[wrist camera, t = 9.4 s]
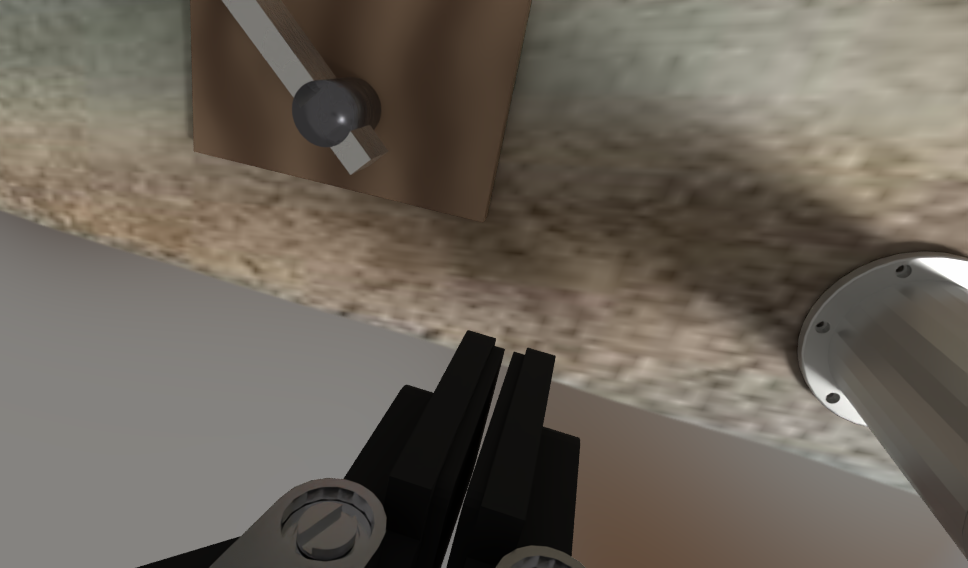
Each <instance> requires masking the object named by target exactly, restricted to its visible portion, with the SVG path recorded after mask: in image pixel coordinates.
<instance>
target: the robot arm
mask: <svg viewBox="0 0 968 568" xmlns="http://www.w3.org/2000/svg"><path fill="white" fill-rule="evenodd" d="M899 266H900V267H899ZM898 267H899V268H898ZM897 268H898V269H897ZM819 322H821V323H820V324H818V323H819ZM495 342H496V338H493V337H490V336H486V335H483V334H479V333H476V332H473V331H469V330H467V332H466V334H465V336H464V337H463V339H462V341H461V343H460V345H459V347H458V349H457V350H456V352H455V354H454V356H453V358H452V360H451V362H450V364H449V365H448V367H447V369H446V371H445V373H444V375H443V376H442V378H441V381H440V382H439V384H438V386H437V388H436V389H435V391H434V393H432V392H429V391H426V390H423V389H419V388H416V387H413V386H410V385H405V386H404V387H403V388H402V389H401V390H400V392H399V393H398V395H397V397H396V398H395V400H394V401H393V403H392V404H391V406H390V407H389V409H388V411H387V412H386V414H385V415H384V417H383V418H382V420H381V421H380V423H379V424H378V426H377V428H376V429H375V431H374V432H373V434H372V436H371V437H370V439H369V440H368V442H367V443H366V445H365V446H364V448H363V449H362V451H361V453H360V454H359V456H358V457H357V459H356V460H355V462H354V463H353V465H352V466H351V468H350V470H349V471H348V473H347V474H346V476H345V477H344V479H335V478H334V479H333V478H324V479H318V480H311V481H309V482H306V483H303V484H301V485H299V486H296V487H294V488H293V489H291V490H290V491H288V492H287V493H286V494H284V495H283V496H282V497H281V498H280V499H278V501H276V502H275V503H274V505H272V506H271V507H270V508H269V509H268V510H267V511H266V512H265V513H264V514H263V515H262V516H261V517H260V518H259V519H258V520H257V521H256V522H255V523H254V524H253V525H252V526H251V527H250V528H249V529H248V530H247V531H246V532H245V533H244V534H243V535H242V536H240V537H237V538H233V539H230V540H227V541H223V542H220V543H217V544H213V545H210V546H207V547H204V548H200V549H197V550H193V551H190V552H187V553H183V554H180V555H177V556H174V557H170V558H167V559H163V560H161V561H157V562H154V563H150V564H147V565H144V566H140V567H137V568H441V565H442V562H443V560H444V556H445V554H446V551H447V548H448V545H449V542H450V539H451V536H452V533H453V530H454V527H455V524H456V521H457V518H458V515H459V512H460V509H461V506H462V503H463V500H464V497H465V494H466V497H465V500H464V503H463V507H462V510H461V514H460V518H459V522H458V525H457V529H456V533H455V537H454V541H453V544H452V548H451V553H450V556H449V560H448V564H447V568H585V567H584V566H583V565H582V564H581V563H580V562H579V561H577V560H576V559H574V558H572V557H571V556H572V543H573V542H572V541H573V529H574V517H575V504H576V491H577V477H578V466H579V453H580V439H579V438H578V437H575V436H572V435H569V434H565V433H562V432H559V431H556V430H552V429H549V428H546V427H543V422H544V417H545V411H546V406H547V400H548V394H549V390H550V384H551V379H552V373H553V368H554V363H555V357H556V356H555V355H551V354H548V353H544V352H541V351H537V350H534V349H531V348H527V350H526V353H525V355H523V354H520V353H517V352H513V355H512V358H511V361H510V364H509V367H508V370H507V374H506V376H505V379H504V382H503V386H502V388H501V391H500V394H499V398H498V400H497V403H496V406H495V409H494V412H493V415H492V418H491V421H490V424H489V427H488V430H487V433H486V436H485V439H484V442H483V445H482V448H481V451H480V454H479V457H478V460H477V463H476V466H475V462H476V459H477V455H478V451H479V447H480V444H481V439H482V436H483V432H484V428H485V424H486V420H487V416H488V413H489V409H490V405H491V401H492V398H493V394H494V390H495V386H496V382H497V378H498V374H499V371H500V367H501V363H502V359H503V355H504V351H505V349H503V348H500V347H496V346H495ZM797 355H798V361H799V367H800V370H801V373H802V375H803V377H804V380H805V382H806V384H807V385H808V387H809V388H810V390H811V391H812V393H813V394H814V396H815V397H816V398H817V399H818V400H819V401H820V402H821V404H822V405H823V406H825V407H826V408H827V409H829V410H830V411H832V412H833V413H835V414H836V415H837V416H839V417H841V418H843V419H846V420H848V421H850V422H852V423H855V424H858V425H862V426H866V427H869V429H870V430H871V431H872V433H873V434H874V435H875V437H876V438H877V439H878V441H879V442H880V443H881V445H882V446H883V447H884V449H885V450H886V451H887V453H888V454H889V455H890V457H891V458H892V459H893V461H894V462H895V463H896V465H897V466H898V467H899V469H900V470H901V472H902V473H903V474H904V476H905V477H906V478H907V480H908V481H909V482H910V484H911V485H912V486H913V488H914V489H915V490H916V492H917V493H918V494H919V496H920V497H921V498H922V500H923V501H924V502H925V504H926V505H927V506H928V508H929V509H930V510H931V512H932V513H933V514H934V516H935V517H936V518H937V520H938V521H939V522H940V524H941V525H942V526H943V528H944V529H945V531H946V532H947V533H948V534H949V536H950V537H951V539H952V540H953V541H954V542H955V544H956V545H957V547H958V548H959V549H960V551H961V552H962V553H963V555H964V556H965V557H966V559H967V560H968V258H966V257H962V256H958V255H953V254H949V253H944V252H927V251H921V252H911V253H901V254H897V255H893V256H889V257H885V258H881V259H878V260H876V261H873V262H871V263H868V264H866V265H864V266H861V267H859V268H857V269H855V270H854V271H852V272H851V273H849V274H847V275H846V276H844V277H842V278H841V279H839V280H838V281H837V282H836V283H835V284H833V285H832V286H831V287H830V288H829V289H828V290H826V291H825V292H824V293H823V294H822V296H821V297H820V298H819V299H818V300H817V302H816V303H815V304H814V305H813V306H812V308H811V310H810V312H809V313H808V315H807V317H806V319H805V321H804V322H803V326H802V329H801V332H800V335H799V339H798V351H797ZM474 466H475V469H474ZM473 470H474V472H473ZM472 473H473V475H472ZM471 476H472V478H471ZM470 479H471V481H470ZM469 482H470V484H469ZM468 485H469V487H468ZM467 488H468V490H467ZM466 491H467V493H466Z"/></svg>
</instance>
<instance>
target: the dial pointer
mask: <svg viewBox="0 0 968 568" xmlns="http://www.w3.org/2000/svg"><path fill="white" fill-rule="evenodd" d="M222 1H223V3H224V4H225V5H226V7H227V8H228V9H229V11H230V12H231V13H232V15H233V16H234V18H235V19H236V20H237V22H238V23H239V24H240V26H241V27H242V28H243V30H244V31H245V32H246V34H247V35H248V37H249V38H250V39H251V41H252V42H253V43H254V45H255V46H256V47H257V49H258V50H259V51H260V53H261V54H262V56H263V57H264V58H265V60H266V61H267V62H268V64H269V65H270V66H271V68H272V69H273V70H274V72H275V73H276V75H277V76H278V77H279V79H280V80H281V81H282V83H283V84H284V85H285V87H286V88H287V89H288V91H289V92H290V94H291V95H292V96H293V98H294V99H293V103H292V116H293V120H294V123H295V125H296V127H297V129H298V131H299V132H300V134H301V135H302V136H303V137H304V138H305V139H306V140H307V141H309V142H310V143H312V144H314V145H316V146H320V147H330V148H331V149H332V150H333V152H334V153H335V155H336V156H337V157H338V159H339V160H340V161H341V163H342V164H343V165H344V167H345V168H346V169H347V171H348V172H349V174H350V175H351V174H353V173H355V172H357V171H359V170H361V169H363V168H365V167H367V166H370V165H371V164H372V163H374V162H375V161H376V160H377V159H379V158H380V157H381V156H383V155H384V154H385V153H387V152H388V150H387V148H386V147H385V145H384V144H383V143H382V141H381V140H380V138H379V137H378V136H377V134H376V133H375V131H374V129H375V128H376V127H377V125H378V123H379V121H380V118H381V102H380V99H379V96H378V94H377V93H376V91H375V90H374V88H373V87H372V86H371V85H370V84H369V83H367V82H366V81H364V80H362V79H359V78H355V77H347V78H336V77H335V75H334V74H333V72H332V71H331V70H330V68H329V67H328V65H327V64H326V63H325V61H324V60H323V58H322V57H321V56H320V54H319V53H318V51H317V50H316V48H315V47H314V46H313V44H312V43H311V41H310V40H309V39H308V37H307V36H306V34H305V33H304V32H303V30H302V29H301V27H300V26H299V25H298V23H297V22H296V20H295V19H294V18H293V16H292V15H291V13H290V12H289V11H288V9H287V8H286V6H285V5H284V3H283V2H282V1H281V0H222Z"/></svg>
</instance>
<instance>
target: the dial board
mask: <svg viewBox="0 0 968 568" xmlns="http://www.w3.org/2000/svg"><path fill="white" fill-rule="evenodd" d="M281 1H282V2H283V3H284V5H285V6H286V8H287V9H288V11H289V12H290V13H291V15H292V16H293V18H294V19H295V20H296V22H297V23H298V25H299V26H300V27H301V29H302V30H303V32H304V33H305V34H306V36H307V37H308V39H309V40H310V41H311V43H312V44H313V46H314V47H315V48H316V50H317V51H318V53H319V54H320V56H321V57H322V58H323V60H324V61H325V63H326V64H327V65H328V67H329V68H330V70H331V71H332V72H333V74H334V75H335V77H336V78H347V77H355V78H359V79H362V80H364V81H366V82H367V83H369V84H370V85H371V86H372V87H373V88H374V90H375V91H376V93H377V94H378V96H379V99H380V102H381V118H380V121H379V123H378V125H377V127H376V128H375V129H374V131H375V133H376V134H377V136H378V137H379V138H380V140H381V141H382V143H383V144H384V145H385V147H386V148H387V150H388V152H387V153H385V154H384V155H383V156H381V157H380V158H379V159H377V160H376V161H375V162H374V163H372V164H371V165H370V166H367V167H365V168H363V169H361V170H359V171H357V172H355V173H353V174H351V175H350V174H349V172H348V171H347V169H346V168H345V167H344V165H343V164H342V163H341V161H340V160H339V159H338V157H337V156H336V155H335V153H334V152H333V150H332V149H331V148H330V147H320V146H316V145H314V144H312V143H310V142H309V141H307V140H306V139H305V138H304V137H303V136H302V135H301V134H300V132H299V131H298V129H297V127H296V125H295V123H294V120H293V116H292V103H293V99H294V98H293V96H292V95H291V94H290V92H289V91H288V89H287V88H286V87H285V85H284V84H283V83H282V81H281V80H280V79H279V77H278V76H277V75H276V73H275V72H274V70H273V69H272V68H271V66H270V65H269V64H268V62H267V61H266V60H265V58H264V57H263V56H262V54H261V53H260V51H259V50H258V49H257V47H256V46H255V45H254V43H253V42H252V41H251V39H250V38H249V37H248V35H247V34H246V32H245V31H244V30H243V28H242V27H241V26H240V24H239V23H238V22H237V20H236V19H235V18H234V16H233V15H232V13H231V12H230V11H229V9H228V8H227V7H226V5H225V4H224V3H223V1H222V0H190V10H191V53H192V96H193V138H194V152H198V153H202V154H207V155H211V156H215V157H219V158H223V159H227V160H231V161H235V162H239V163H243V164H247V165H251V166H255V167H259V168H263V169H267V170H272V171H276V172H280V173H284V174H288V175H292V176H296V177H300V178H304V179H308V180H312V181H316V182H320V183H324V184H328V185H333V186H337V187H341V188H345V189H349V190H353V191H357V192H361V193H365V194H369V195H373V196H377V197H381V198H385V199H389V200H393V201H398V202H402V203H406V204H410V205H414V206H418V207H422V208H426V209H430V210H434V211H438V212H442V213H446V214H450V215H454V216H459V217H463V218H467V219H471V220H475V221H479V222H484V221H485V219H486V218H487V215H488V211H489V206H490V201H491V196H492V191H493V186H494V181H495V177H496V172H497V167H498V162H499V157H500V152H501V148H502V143H503V138H504V133H505V128H506V123H507V118H508V114H509V109H510V104H511V99H512V94H513V89H514V85H515V80H516V75H517V70H518V65H519V60H520V55H521V51H522V46H523V41H524V36H525V31H526V26H527V22H528V17H529V12H530V7H531V2H532V0H281Z"/></svg>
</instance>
